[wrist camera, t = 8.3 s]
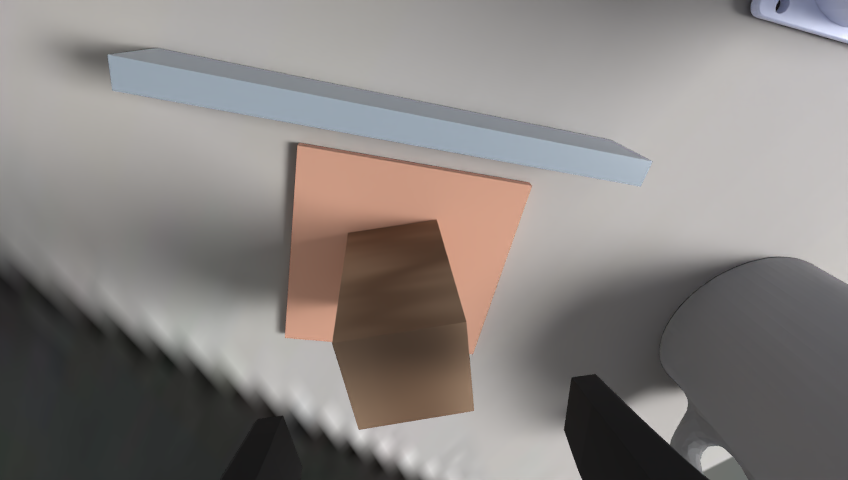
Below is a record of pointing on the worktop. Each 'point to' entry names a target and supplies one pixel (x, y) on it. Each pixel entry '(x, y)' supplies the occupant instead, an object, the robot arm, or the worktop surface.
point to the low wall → (369, 114)
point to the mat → (389, 206)
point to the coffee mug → (764, 370)
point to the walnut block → (401, 327)
